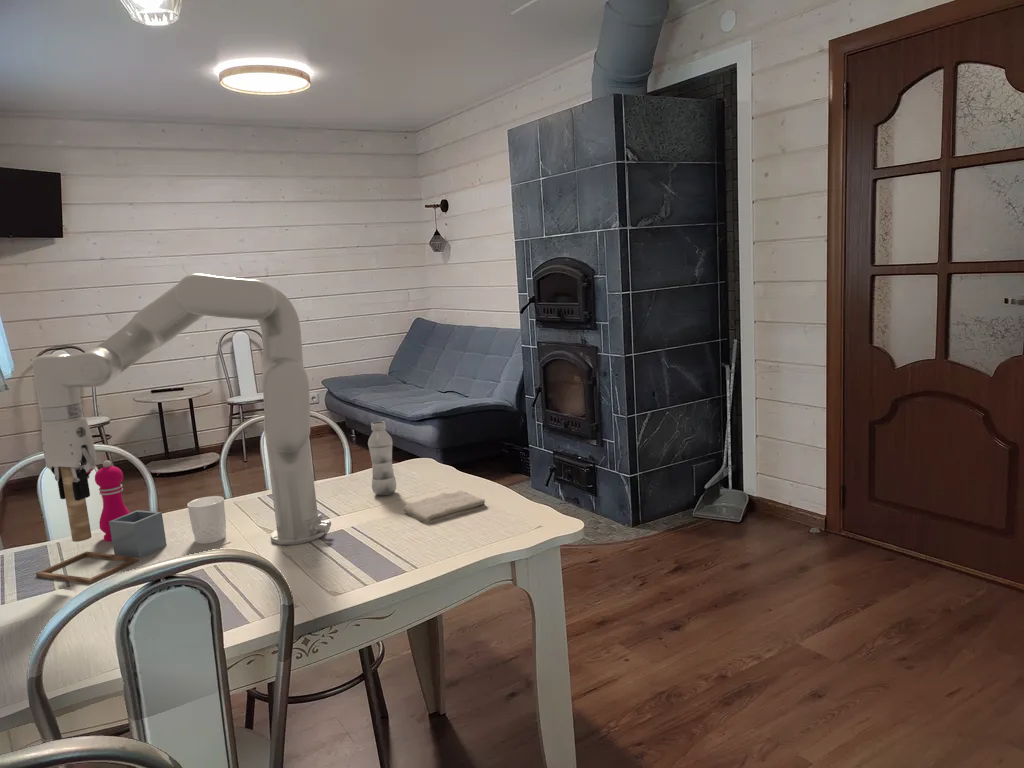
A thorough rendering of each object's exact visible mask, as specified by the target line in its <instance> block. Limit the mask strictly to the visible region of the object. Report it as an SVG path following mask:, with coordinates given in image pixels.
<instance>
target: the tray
mask: <svg viewBox="0 0 1024 768" xmlns="http://www.w3.org/2000/svg"><path fill="white" fill-rule="evenodd" d="M86 557H87V558H94V559H95V558H96V559H104V560H111V561H112V560H113V561H120V562H122V563H120V564H118V565H116V566H114V567H112V568H109V569H107V570H105V571H103V572H101V573H98V574H97V575H95V576H92V577H82V576H77V575H69V574H67V575H66V574H60V573H54V571H56V570H59V569H61V568H64V567H66V566H68V565H70V564H73V563H75V562H78V561H80V560H82V559H84V558H86ZM139 559H140V558H138V557H130V556H122V555H114V554H113V553H105V552H96V551H95V552H94V551H93V552H92V551H85V552H81V553H80V554H76V555H75V556H72V557H71V558H67V559H65V560H63V561H61V562H59V563H57V564H54V565H52V566H49V567H47V568H45V569H42V570H40V571H37V572H35V576H36V577H37V578H41V579H42V578H43V579H49V580H56V581H57V580H58V581H64V582H71V583H79V584H86V585H92V584H94V583H96V582H98V581H100V580H103V579H104V578H106V577H108V576H110V575H113V574H115V573H117V572H119V571H121V570H124V569H125V568H128V567H129V566H132V565H134V564H136V563H138V562H139Z"/></svg>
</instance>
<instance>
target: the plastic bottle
mask: <svg viewBox="0 0 1024 768" xmlns="http://www.w3.org/2000/svg"><path fill="white" fill-rule="evenodd" d="M370 426H371V431H372V432H371V434H370V436H369V438H368V441H367V445H368V449H369V450H368V451H369V453H370V454H369V455H370V460H371V467H372V472H371V473H372V477H371V490H372V492H373V493H374V495H378V496H387V495H391V494H393V493H395V492H396V490H397V480H396V477H395V473H394V472H395V471H394V467H393V438H392V436H391V435H390V434H389V433H388V432H387V430H386V429H387V426H386V421H381V420H380V421H379V420H378V421H373V422H371V423H370Z"/></svg>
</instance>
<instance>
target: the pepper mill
mask: <svg viewBox="0 0 1024 768" xmlns="http://www.w3.org/2000/svg"><path fill="white" fill-rule="evenodd" d="M102 466H103V467H101V468H100V469H98V470H97V472H96V473H94V474H95V475H94V482H95V484H96V485H97V486H98V487H99V489H98V491H99V495H100V496H101V497H102V501H103V502H102V503H103V504H102V505H103V506H102V511H101V513H100V517H99V529H100V531H102V532H103V533H104V535H103V540H104V542H112V537H111V531H110V525H109V521H111V520H114V519H116V518H119V517H121V516H124V515H126V514H129V513H131V512H130V510H129V509H128V507H127V506H126V505H125V502H124V500H123V495H122V494H123V493H122V492H123V490H124V488H123V484H121V483H122V481H123V480H124V473H123V471H122V469H120V468H119V467H117V466H114V465H112V462H111V461H110V460H109V459H108V460H106V459H105V460H104V461H103V462H102Z"/></svg>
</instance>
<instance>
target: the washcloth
mask: <svg viewBox="0 0 1024 768" xmlns="http://www.w3.org/2000/svg"><path fill="white" fill-rule="evenodd" d="M485 500H486V499H485V498H481V497H477V496H475V495H473V494H471V493H468V492H467V491H463V490H458V491H455V492H450V493H447V492H444V493H443V492H442V493H440V494H438V495H434V496H432V497H426V498H423V499H419V500H416V501H413V502H409V503H408V504H406V505H404V506H403V512H404V513H405V514H406V515H408V516H411V517H412V518H413V517H414V519H417V521H420V522H422V523H424V524H432V523H436V522H440V521H443V520H447V519H451V518H454V517H457V516H460V515H464V514H467V513H469V512H473V511H477V510H478V511H479V510H481V509H484V508H486V507H487V506H486V504H485V503H486V501H485Z"/></svg>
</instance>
